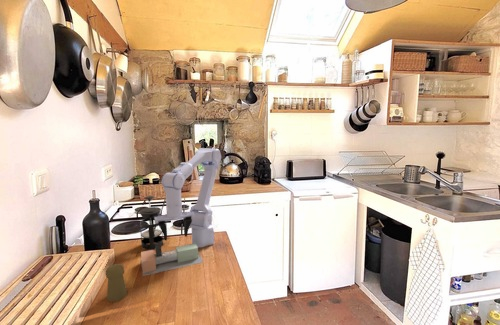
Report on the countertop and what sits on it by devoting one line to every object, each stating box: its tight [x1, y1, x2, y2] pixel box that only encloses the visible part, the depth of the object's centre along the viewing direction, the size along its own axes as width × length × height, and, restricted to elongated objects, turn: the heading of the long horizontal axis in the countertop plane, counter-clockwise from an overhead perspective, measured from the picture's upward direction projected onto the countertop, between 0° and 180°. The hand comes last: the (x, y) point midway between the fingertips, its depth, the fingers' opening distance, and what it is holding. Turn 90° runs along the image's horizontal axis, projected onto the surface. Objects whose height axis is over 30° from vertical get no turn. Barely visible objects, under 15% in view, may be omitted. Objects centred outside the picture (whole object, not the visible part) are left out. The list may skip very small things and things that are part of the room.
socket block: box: [140, 249, 156, 273], centre depth 102 cm, size 4×8×4 cm, turn 25°
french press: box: [138, 195, 168, 251], centre depth 118 cm, size 12×9×23 cm
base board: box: [140, 252, 204, 277], centre depth 106 cm, size 22×12×1 cm, turn 115°
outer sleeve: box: [175, 243, 199, 262], centre depth 108 cm, size 8×4×4 cm, turn 115°
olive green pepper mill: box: [105, 263, 128, 303], centre depth 85 cm, size 6×6×11 cm
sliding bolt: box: [154, 242, 178, 264], centre depth 104 cm, size 14×3×7 cm, turn 115°
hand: (175, 237), depth 105 cm, fingers open, 7 cm apart
